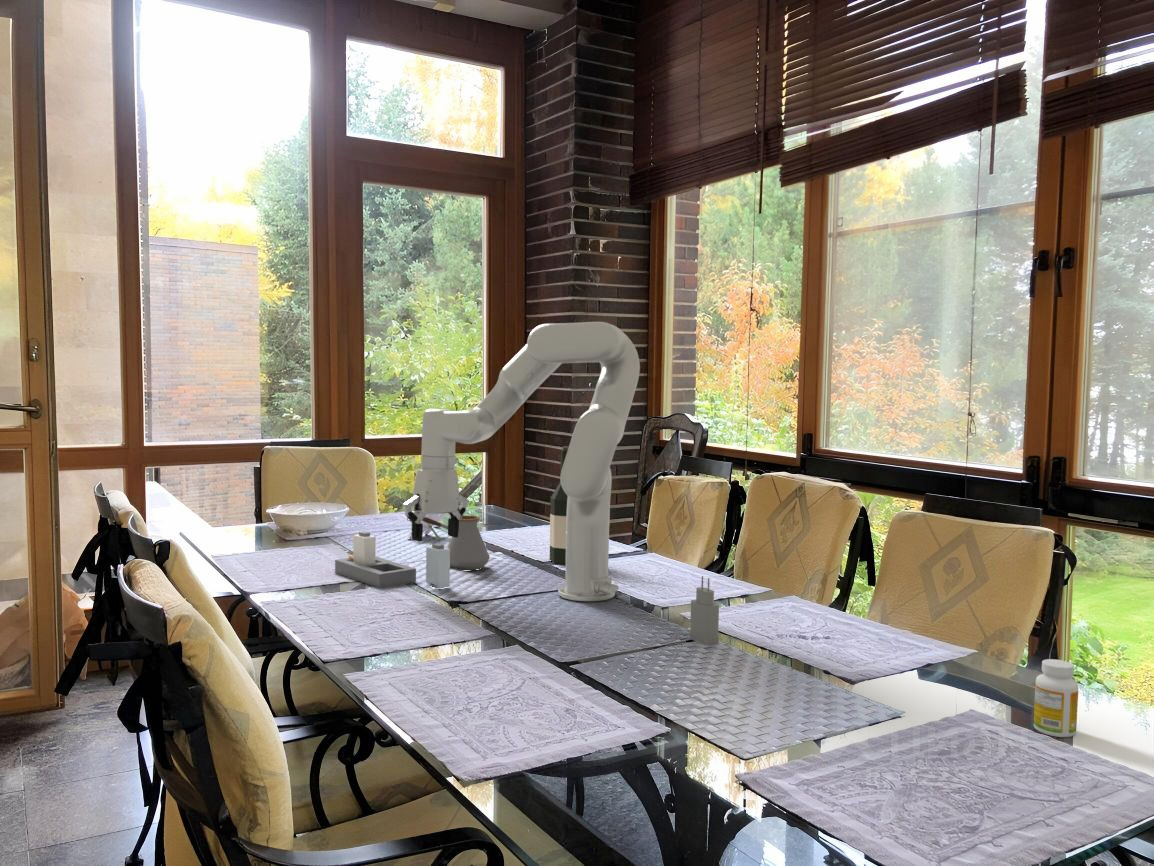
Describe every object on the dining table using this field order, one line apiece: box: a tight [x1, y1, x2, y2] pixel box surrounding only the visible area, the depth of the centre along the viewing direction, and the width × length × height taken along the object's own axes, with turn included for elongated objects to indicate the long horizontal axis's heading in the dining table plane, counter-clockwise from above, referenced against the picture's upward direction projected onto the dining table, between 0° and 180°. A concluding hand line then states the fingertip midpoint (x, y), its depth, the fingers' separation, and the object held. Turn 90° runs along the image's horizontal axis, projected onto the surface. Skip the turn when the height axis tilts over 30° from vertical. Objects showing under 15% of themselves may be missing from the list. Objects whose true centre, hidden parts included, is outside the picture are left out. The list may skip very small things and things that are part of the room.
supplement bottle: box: [1033, 658, 1079, 738], centre depth 130 cm, size 5×5×10 cm
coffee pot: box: [406, 515, 490, 571], centre depth 227 cm, size 21×12×15 cm, turn 123°
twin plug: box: [352, 530, 377, 565], centre depth 217 cm, size 5×3×10 cm, turn 43°
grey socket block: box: [334, 554, 417, 589], centre depth 214 cm, size 20×10×5 cm, turn 43°
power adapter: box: [689, 575, 720, 646], centre depth 171 cm, size 3×5×12 cm, turn 30°
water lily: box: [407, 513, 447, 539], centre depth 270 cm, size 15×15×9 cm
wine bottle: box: [549, 446, 569, 566], centre depth 239 cm, size 8×8×30 cm
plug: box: [425, 543, 451, 588], centre depth 209 cm, size 5×3×10 cm, turn 43°
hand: (435, 538), depth 209 cm, fingers open, 9 cm apart
